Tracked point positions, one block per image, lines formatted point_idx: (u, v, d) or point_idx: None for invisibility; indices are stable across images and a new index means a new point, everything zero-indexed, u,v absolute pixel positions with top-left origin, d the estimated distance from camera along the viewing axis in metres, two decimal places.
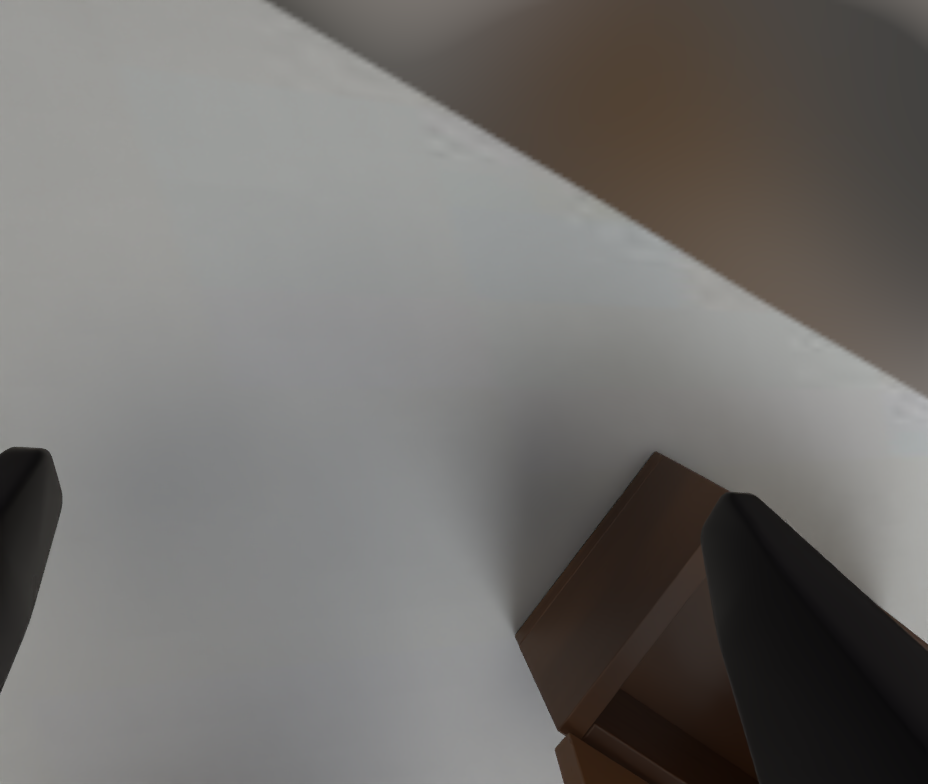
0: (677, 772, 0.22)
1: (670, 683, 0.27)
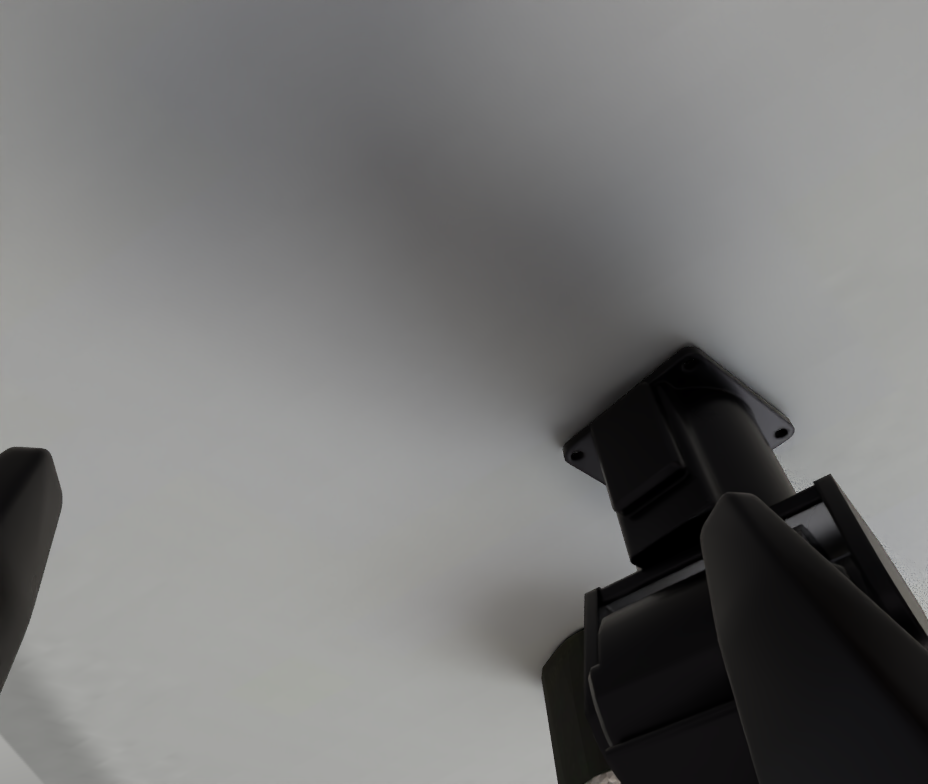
0: None
1: None
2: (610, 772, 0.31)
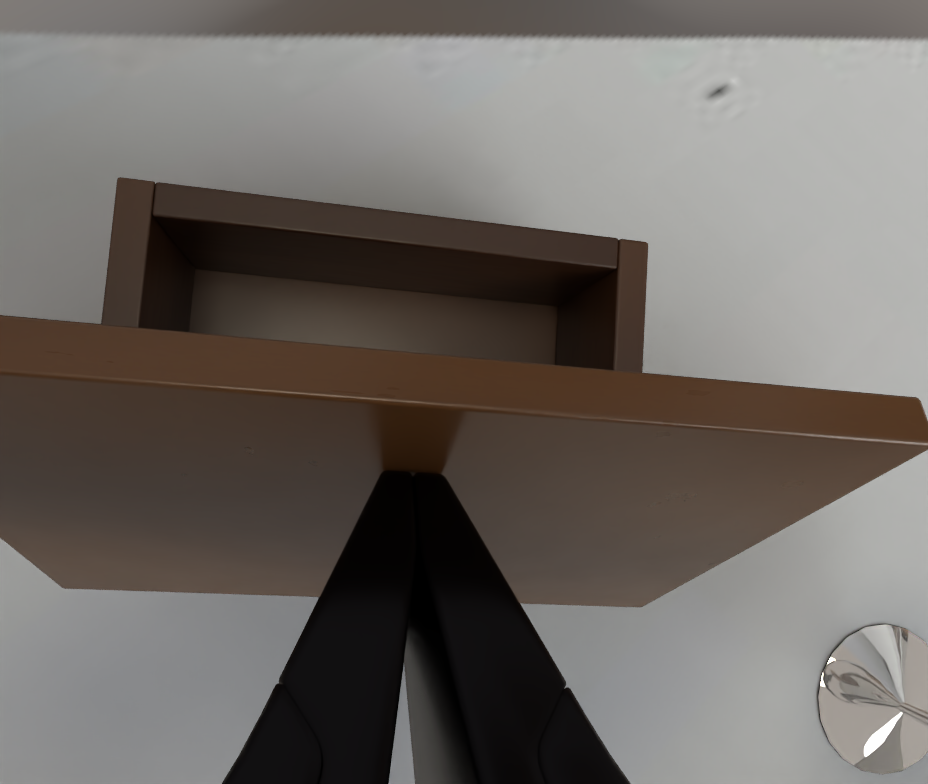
0: None
1: None
2: None
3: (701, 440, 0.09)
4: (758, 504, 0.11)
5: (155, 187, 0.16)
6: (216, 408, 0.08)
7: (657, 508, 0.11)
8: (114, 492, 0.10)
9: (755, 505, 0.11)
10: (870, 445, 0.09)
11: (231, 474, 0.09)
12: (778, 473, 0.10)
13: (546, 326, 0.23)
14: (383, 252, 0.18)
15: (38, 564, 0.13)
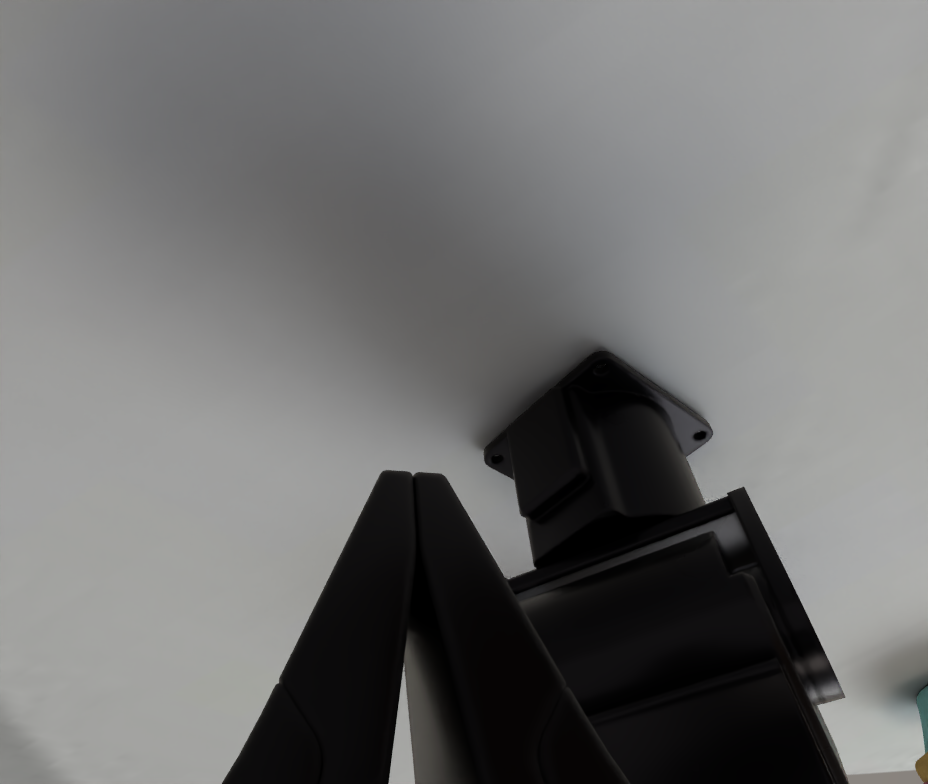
0: None
1: None
2: None
3: None
4: None
5: None
6: None
7: None
8: None
9: None
10: None
11: None
12: None
13: None
14: None
15: None
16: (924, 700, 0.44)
